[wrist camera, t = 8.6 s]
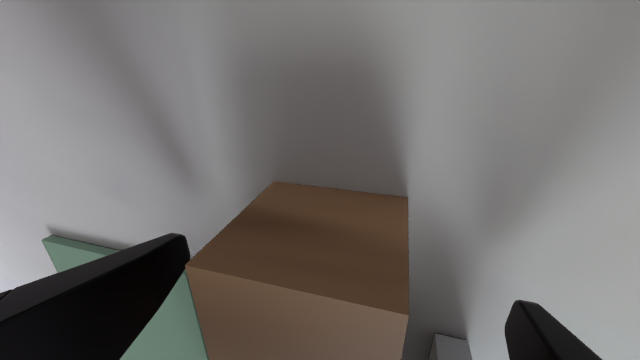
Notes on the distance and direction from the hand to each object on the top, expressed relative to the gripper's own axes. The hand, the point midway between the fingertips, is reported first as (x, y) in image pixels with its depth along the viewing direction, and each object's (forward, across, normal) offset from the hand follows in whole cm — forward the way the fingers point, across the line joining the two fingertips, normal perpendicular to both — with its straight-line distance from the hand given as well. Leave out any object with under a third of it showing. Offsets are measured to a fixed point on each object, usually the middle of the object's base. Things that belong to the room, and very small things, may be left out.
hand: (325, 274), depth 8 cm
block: (+2, 0, 0) cm, 2 cm away
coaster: (+1, +10, +6) cm, 12 cm away
